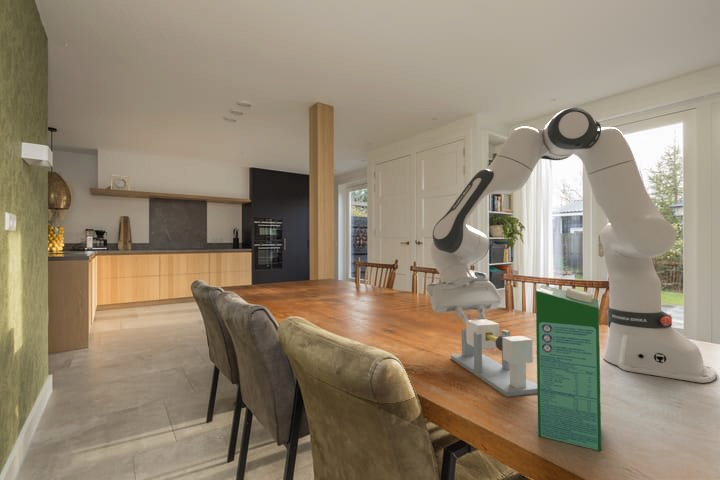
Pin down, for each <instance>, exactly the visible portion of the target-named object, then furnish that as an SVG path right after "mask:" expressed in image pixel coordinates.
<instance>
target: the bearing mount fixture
mask: <svg viewBox="0 0 720 480" xmlns="http://www.w3.org/2000/svg"><path fill="white" fill-rule="evenodd" d="M485 337H486V338H487V339H490V340H492V341H494V342H496V347H497V348H496V349H498V350H499V351H501V363H500V362H498V361H496V360H494V359H493V358H491V357H489V356H487V355H485V354H484V353H483V349H482V334H481V333H479V332H474V347H473V346H471V345H469V344H468V343H467V340H466V327H465V328H461V353H459V354H458V353H457V354H451V355H450V359H451V360H452V361H453V362H455V363H457V365H458V364H459V365H460V366H461V367H462V368H465V370H467V371H469V372H470V374H471V373H472V374H473V375H474V376H475V377H477V378H479V380H481V381H483V382H484V383H486V384H488V386H489V387H492V388H493V389H494V390H497V391H498V392H499V393H500V394H502V395H503V396H504V397H507V398H509V397H518V396H523V395H524V396H525V395H526V396H527V395H534V394H537V383H536V382H534V381H532V380H530V379H528V378H527V364H530V363H533V362H534V361H533V360H534V359H533V357H534V356H533V355H534V354H533V339H532V338H530V337H526V336H525V335H512V336H511V331H509V330H507V329H501V334H500V336H499V337H498V338H497V337H495V336H492V335H490V334H488V333H485Z"/></svg>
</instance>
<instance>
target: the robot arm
mask: <svg viewBox="0 0 720 480" xmlns="http://www.w3.org/2000/svg"><path fill="white" fill-rule="evenodd" d="M572 155H575V156H576V157H578V158H579V159H580V160H581V162H582V163H583V165H584V167H585V171H586V175H587V178H588V181H589V184H590V187H591V191H592V193H593V196H594V199H595V202H596V203H597V205H598V206H599V207H600V208H601V210H602V211H603V213H604V215H605V216H606V218H607V221H608V223H607V224H605V225H604V226H603V228H602V229H601V230H600V234H599V240H600V243H601V246H602V249H603V255H604V262H605V266H606V270H607V274H608V287H609V288H608V289H609V290H608V291H609V306H608V307H607V312H606V313H607V314H606V315H607V327H608V336H607V343H606V348H605V351H604V354H603V356H602V357H603V359H604V360H605V361H606V362H608V363H610V364H612V365H615V366H617V367H619V368H620V369H621V370H623V371H627V372H630V373H631V372H632V373H639V374H644V375H651V376H658V377H661V378H662V377H663V378H669V379H675V380H682V381H687V382H688V381H689V382H695V383H703V384H705V383H710V382H713V381H714V380H716V377H717V372H716V370H715V368H714V367H712V366H710V365H708V364H706V363H704V359H703V354H702V352H701V349H700V348H699V347H698V345H697V344H696V343H695V342H694V341H692V340H690V339H688V338H687V337H686V336H684V335H683V334H681V333H680V332H679V331H677V330H676V329H675V328H673V327H672V326H673V325H672V324H673V316H672V314H670V313H669V314H668V313H667V312H665V311H662V282H661V279H660V277H659V276H658V274H657V271H656V269H655V265H654V261H653V258H656V257H659V256H662V255H664V254H666V253H668V252H669V251H670V250H672V248H673V247H674V246H675V243H676V241H677V233H676V230H675V227H674V226H673V225H672V224H671V222H669V221H668V220H667V219H666V218H664V216H663V215H662V214H661V212H660V210H659V209H658V207H657V206H656V204H655V203H654V201H653V199H652V198H651V197H650V194H649V193H648V191H647V189H646V187H645V184H644V182H643V179H642V176H641V173H640V171H639V170H640V169H639V168H638V165H637V162H636V158H635V156H634V153H633V152H632V149H631V146H630V145H629V143H628V141H627V139H626V137H625V136H624V134H623V133H622V131H620V129H618V128H616V127H612V126H606V127H602V125H601V124H600V122H598V121H597V120H596V119H594V118H593V116H592V115H591V114H590V113H589V112H588V111H586V110H584V109H583V108H581V107H568V108H565V109H563V110H561V111H558V112H557V113H556V114H555V115H554V116H553V117H552V118H551V119H550V120H549V121H548V123H547V124H545V126H544V127H543V128H541V129H539V128H538V129H537V128H534V127H531V126H520V127H517V128H515V129H514V130H513V131H511V133H510V134H509V136H508V137H507V138H506V140H505V141H504V143H503V144H502V145H501V147H500V148H499V150H498V152H497V153H496V155H495V157H494V159H493V160H492V162H491V163H490V164H489V165H488V166H487V167H486V168H485V169H482V170H479V171H478V172H476V174H475V175H474V176H473V177H472V178H471V180H470V181H469V182H468V183H467V184H466V186H465V188H464V189H463V190H462V191H461V193H460V194H459V196H458V197H457V199H456V200H455V201H454V203H453V204H452V205H451V207H450V208H449V209H448V210H447V212H446V213H445V214H444V216H442V217H441V218H440V219H439V220H438V221H437V223H436V224H435V225H434V227H433V230H432V241H433V242H432V243H431V247H430V255H431V258H432V263H433V264H434V268H435V269H436V271H437V272H438V273H439V279H440V281H441V282H439V281H438V282H430V283H429V284H427V285H426V290H427V291H426V292H427V294H428V295H429V299H430V303H431V308H432V310H433V311H434V312H435V313H436V314H439V313H454V312H455V315H457V317H459V318H460V319H461V320H462V323H463V324H464V325H466V320H472V318H471V317H470V315H469V314H467V313H465V311H466V312H467V311H477V313H479V314H478V316H477V317H476V318H477V319H476V320H480V319H487V317H486V315H485V312H486V310H496V309H498V308H499V307H500V306H501V304H502V301H503V299H502V296H501V293H499V291H498V289H497V287H496V286H495V284H493V282H491V281H489V280H490V277H489V275H488V274H487V273H485V272H481V271H477V270H473V269H470V268H469V267H471V266H473V265H474V264H477V263H478V262H480V261H481V260H482V259H484V257H485V256H486V255H487V254H488V252H489V250H490V240H489V237H488V235H487V234H486V233H484V232H482V231H481V230H479V229H477V228H475V227H473V226H470V225H468V224H467V221H468V219H470V217H471V215H472V214H473V213H474V211H475V210H476V208H477V207H478V206H479V204H480V202H482V200H483V199H484V198H486V197H487V196H490V195H509V194H514V193H516V192H518V191H520V190H521V189H523V187H524V186H525V184H526V183H527V181H528V180H529V179H530V178H531V177H530V176H531V175H532V173H533V171H534V170H535V167H536V166H537V164H538V162H539V161H540V160H541V159H542V160H550V161H563V160H566V159H568V158H570V157H571V156H572Z"/></svg>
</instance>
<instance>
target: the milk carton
mask: <svg viewBox="0 0 720 480" xmlns="http://www.w3.org/2000/svg"><path fill="white" fill-rule="evenodd" d="M593 297H594V294H592V293H590V292H588V291H584V290H580V289H578V288H577V289H576V288H571V287H567V289H566V290H563V289H558V288H556V287H551V286H549V285H545V284H541V285H540V286H539V287H538V288H537V289H536V291H535V316H536V317H535V323H536V324H535V326H536V337H535V339H536V382H537V383H536V384H537V393H536V394H537V397H536V398H537V435H538V437H542V438H546V439H548V440H549V439H550V440H554V441H557V442H560V443H561V442H562V443H566V444H569V445H575V446H578V447H583V448H586V449H590V450H595V451H599V452H601V451H602V425H601V423H602V420H601V419H602V418H601V417H602V410H601V404H602V403H601V360H600V359H601V358H600V357H601V356H600V348H601V347H600V307H599V301H598V299H596V298H593Z"/></svg>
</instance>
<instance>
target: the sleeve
mask: <svg viewBox="0 0 720 480" xmlns="http://www.w3.org/2000/svg"><path fill="white" fill-rule="evenodd" d="M465 325H466V326H465V328H466V340H467V343H468V344H469V345H471V346H473V347H474V332H479V333H481V334H482V350H487V349H498V348H497V347H496V342H494V341H492V340H490V339H487V338H486V337H485V333H488V334H490V335H492V336H495V337H497V338H498V337H499V336H501V334H500V332H501V331H500V323H498V322H495V321H493V320H490V319H487V318H486V319H480V320H478V319H471V320H466V324H465Z"/></svg>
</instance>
